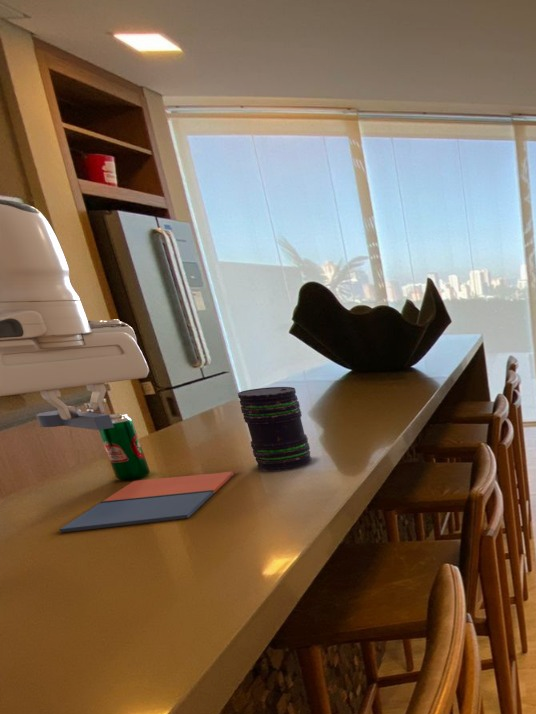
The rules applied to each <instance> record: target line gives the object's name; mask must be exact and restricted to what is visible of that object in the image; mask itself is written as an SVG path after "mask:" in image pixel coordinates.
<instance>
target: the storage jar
mask: <svg viewBox="0 0 536 714" xmlns="http://www.w3.org/2000/svg"><path fill="white" fill-rule="evenodd" d="M296 394H297V390H296V388H295V387H292V386H270V387H259V388H252V389H247V390H246V389H245V390H242V391H239V392H237V396H238V399H239V404H240V410H241V414H242V416H243V420H244V423H246V424H247V428H248V430H249V431H248V433H249V435H250V439H251V441H250V447H251V449H252V453H253V457H254V458H255V461H256V463H257V465H256V466H257V469H258V471H261V472H283V471H290V470H295V469H299V468H303V467H306V466H308V465H310V464H311V463H313V458H312V457H311V451H310V449H311V446H310V443H309V438H308V436H307V434H306V433H305V429H304V425H303V422H302V410H301V405H300V401H299V400H298V396H297V395H296Z"/></svg>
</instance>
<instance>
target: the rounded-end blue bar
mask: <svg viewBox="0 0 536 714" xmlns="http://www.w3.org/2000/svg"><path fill="white" fill-rule="evenodd" d="M76 410H77V412H76V413H78V415H79V416H78V418H74V419H68V420H64V419H62V418H61V417H60V414H59V412H58V410H57V409H56V410H49V411H44V412H39V413H36V414H35V417H36V420H37V422H38V424H39V426H40V427H41V428H55V427H56V428H57V427H70V428H71V427H72V428H78V429H85V430H94V431H98V430H103V429H108V428H114V426H113V423H112V420H111V418H110V415H109V414H107V413H104V414H98V413H89V412H87V411H82V410H81V409H79V408H76Z"/></svg>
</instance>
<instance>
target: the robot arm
mask: <svg viewBox="0 0 536 714" xmlns="http://www.w3.org/2000/svg"><path fill="white" fill-rule="evenodd" d="M71 283H72V282H71V280H70V268H69V264H68V262H67V260H66V257H65V254H64V252H63V250H62V247H61V245H60V241H59V240H58V238H57V235H56V233H55V231H54V230H53V228H52V226H51V224H50V223H49V221H48V220H47V218H46V217H45V215H44V214H43V213H42V212H41V211H40V210H39V209H37V208H36V207H34V206H31V205H30V204H27V203H24V202H20V201H14V200H8V199H0V397H7V396H8V397H9V396H14V395H15V396H16V395H23V394H31V393H37V392H39V393H40V396H41V398H42V399H43V400H45V401H46V402H47V403H48V404H50V405H51V406H53V407H54V408H56V410H58V412H59V414H60V417H61V418H62V419H64V420H68V419H74V418H78V416H79V415H78V413H76V412H77V410H76V409H77V408H76V406H75V405H67V404H65V403H64V402H63V401H62V400H61V399H59V397H62V394H61V391H60V390H61V389H68V388H76V387H84V386H85V387H86V390H87V391H89V392H91V396H90V400H89V402H86V403H85V402H84V403H83V405H84V407H85V409H86V412H89V413H98V414H106V411H105V408H104V405H103V402H104V399H105V396H106V393H107V388H106V386H105V384H107V383H115V382H122V381H132V380H138V379H146V378H147V377H148V375H149V373H150V368H149V365H148V363H147V361H146V358H145V356H144V355H143V352H142V350H141V349H140V347H139V345H138V339H137V336H136V334H135V331H134V329H133V327H131V326H130V325H129V324H128V323H126V322H123V321H120V319H108V320H97V319H95V320H88V318H87V315H86V311H85V309H84V307H83V304H82V302H81V298H80V295H78V293H77V292H76V290H75V289H74V287H73V286H72V284H71Z"/></svg>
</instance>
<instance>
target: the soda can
mask: <svg viewBox="0 0 536 714" xmlns="http://www.w3.org/2000/svg"><path fill="white" fill-rule="evenodd" d="M108 415H110V418H111V420H112V423H113V426H114V428H108V429H103V430H97V431H98V433H99V435H100V439H101V441H102V444H103V447H104V449H105V452H106V454H107V457H108V460H109V462H110V465H111V467H112V470H113V474H114V477H115V478H116V479H117V480H119V481H125V482H127V481H137V480H141V479H144V478H147V477H148V476H149V474H150V473H151V470H150V468H149V465H148V462H147V460H146V459H147V458H146V456H145V453H144V450H143V447H142V445H141V442H140V438H139V436H138V433H137V430H136V427H135V425H134V422H133V420H132V418H131V417H129V416H128V414H127V413H123V412H122V413H121V412H120V413H110V414H108Z"/></svg>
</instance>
